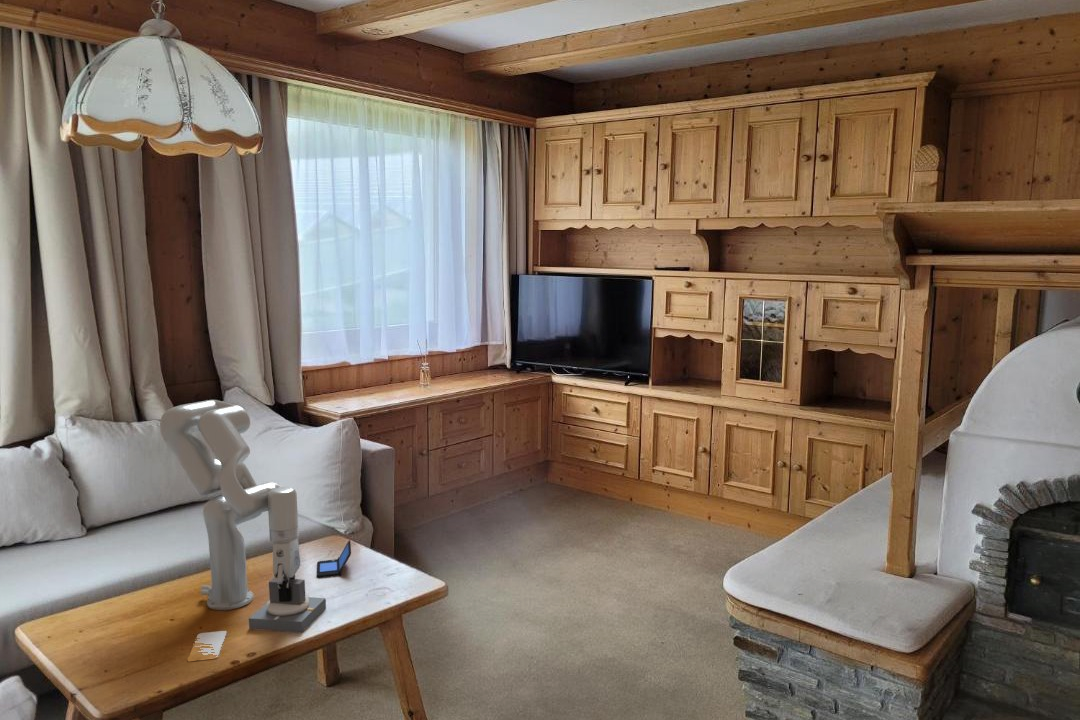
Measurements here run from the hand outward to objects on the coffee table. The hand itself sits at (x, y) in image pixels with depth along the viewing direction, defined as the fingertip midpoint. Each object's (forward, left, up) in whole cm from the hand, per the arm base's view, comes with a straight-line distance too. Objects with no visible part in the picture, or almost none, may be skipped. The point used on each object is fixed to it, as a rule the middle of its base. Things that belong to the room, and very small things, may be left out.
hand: (287, 597), depth 221 cm
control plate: (0, 0, -6) cm, 6 cm away
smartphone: (-13, -18, -7) cm, 23 cm away
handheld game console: (-2, +35, -7) cm, 36 cm away
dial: (0, 0, -3) cm, 3 cm away
